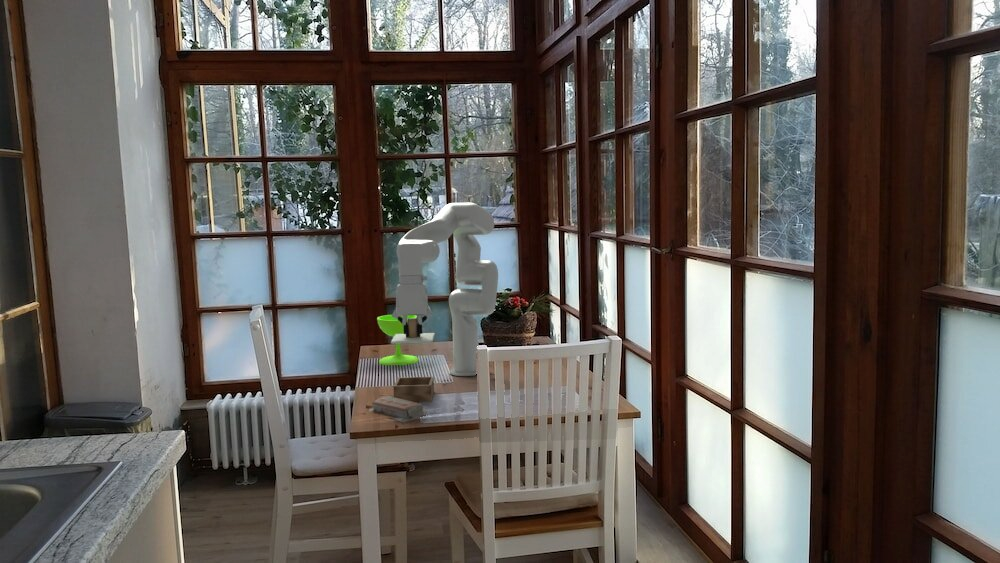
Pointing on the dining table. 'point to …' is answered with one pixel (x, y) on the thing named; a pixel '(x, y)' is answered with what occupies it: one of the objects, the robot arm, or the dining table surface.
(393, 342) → the lid
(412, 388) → the walnut box
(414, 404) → the packaged product
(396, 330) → the wineglass
